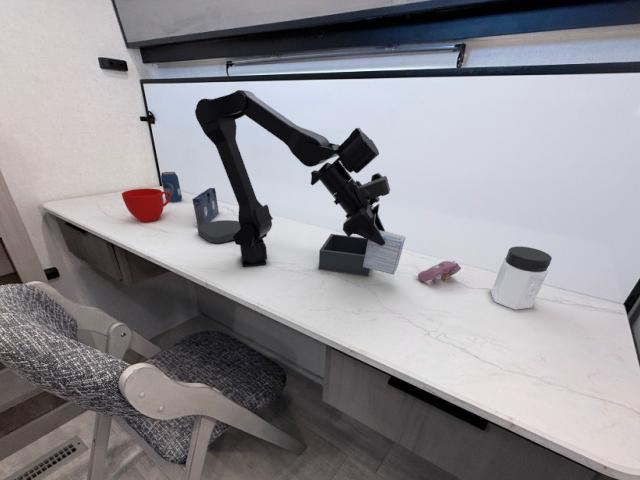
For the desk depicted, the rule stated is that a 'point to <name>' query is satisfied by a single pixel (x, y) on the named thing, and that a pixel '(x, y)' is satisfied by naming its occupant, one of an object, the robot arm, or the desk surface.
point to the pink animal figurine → (439, 271)
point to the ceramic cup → (145, 203)
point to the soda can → (171, 186)
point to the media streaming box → (219, 230)
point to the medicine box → (384, 253)
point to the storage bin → (344, 254)
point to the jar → (520, 277)
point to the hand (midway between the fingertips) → (384, 240)
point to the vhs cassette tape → (205, 206)
